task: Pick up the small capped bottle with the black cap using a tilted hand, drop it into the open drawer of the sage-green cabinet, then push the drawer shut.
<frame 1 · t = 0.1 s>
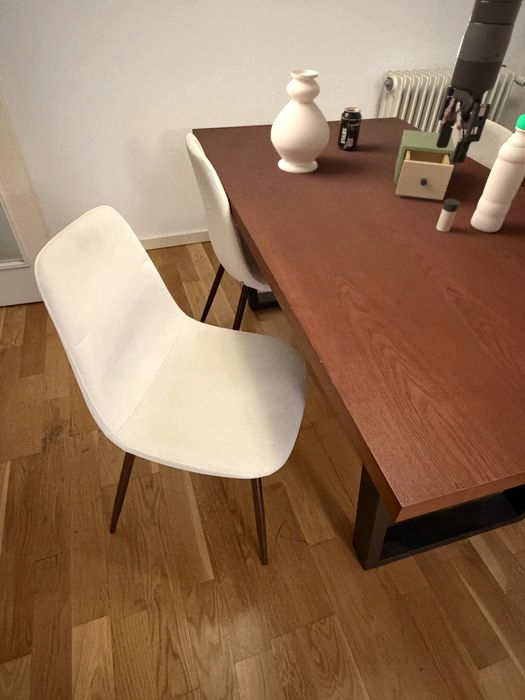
hand: (448, 154, 80), 20 cm above the table, tool pointing down, fingers open, 8 cm apart
smartphone: (434, 158, 135), on the table
small capped bottle: (442, 228, 100), on the table
beverage can: (346, 148, 141), on the table
water bottle: (484, 227, 101), on the table
decorative vase: (297, 166, 129), on the table
drawer: (423, 172, 112), point 5 cm above the table, slide at 8.0 cm
cabinet: (417, 177, 123), on the table
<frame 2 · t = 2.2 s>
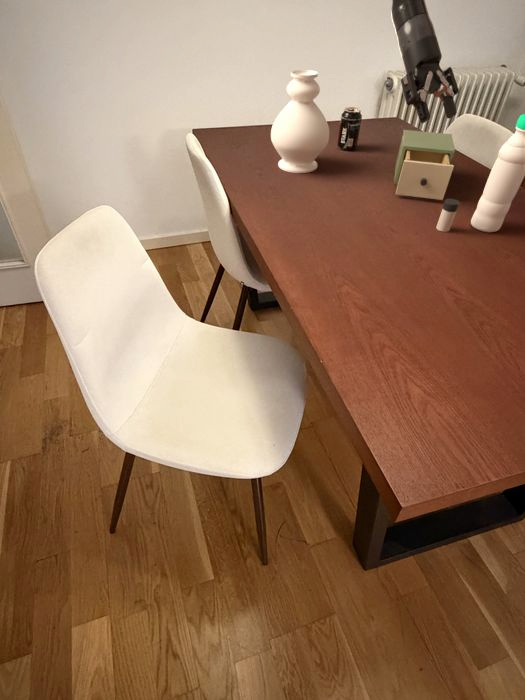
hand: (439, 118, 91), 22 cm above the table, tool tilted 45°, fingers open, 8 cm apart
nothing on the table moved.
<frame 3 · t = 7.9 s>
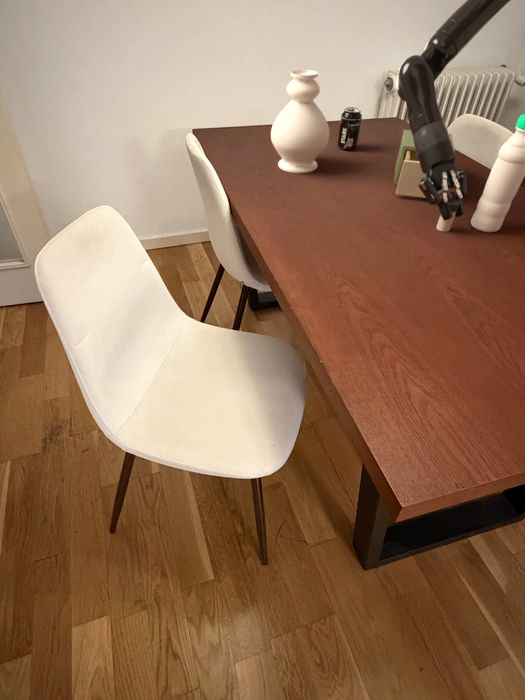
hand: (454, 217, 96), 4 cm above the table, tool tilted 45°, fingers closed on small capped bottle, 3 cm apart
small capped bottle: (442, 228, 100), on the table, touching gripper
everything else where it was.
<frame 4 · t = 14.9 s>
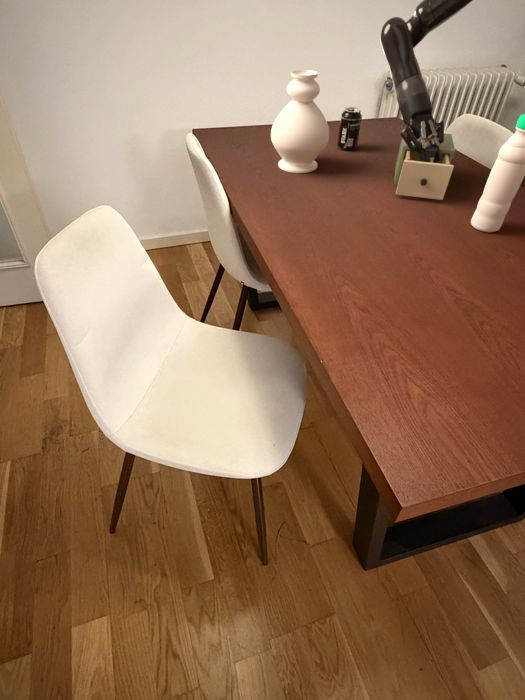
hand: (432, 162, 108), 9 cm above the table, tool tilted 45°, fingers closed on small capped bottle, 3 cm apart
small capped bottle: (422, 175, 112), point 5 cm above the table, touching gripper
everything else where it was.
when the fingers open (10 cm above the table, at t = 19.2 s): small capped bottle drops 4 cm, resting on drawer.
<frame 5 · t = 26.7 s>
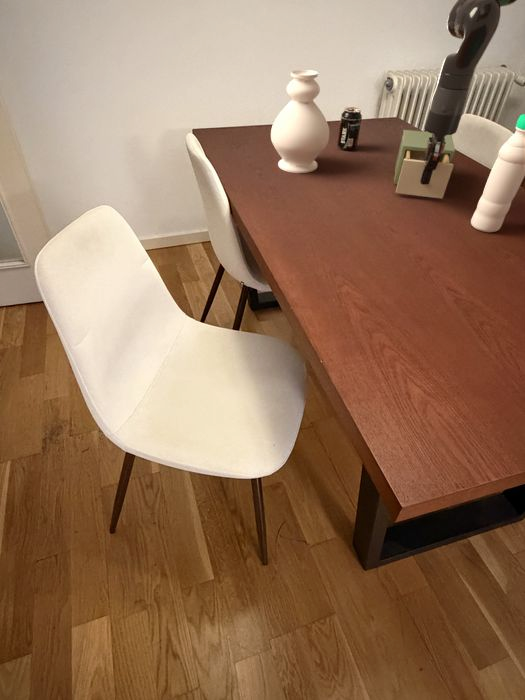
hand: (424, 182, 106), 6 cm above the table, tool pointing down, fingers closed
small capped bottle: (418, 184, 114), point 2 cm above the table, touching drawer
drawer: (423, 171, 113), point 5 cm above the table, slide at 7.1 cm, touching gripper, small capped bottle
everything else where it was.
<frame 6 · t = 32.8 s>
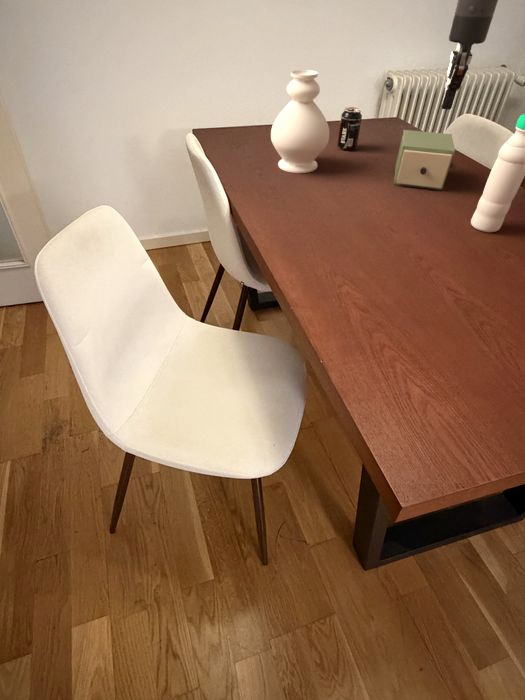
hand: (445, 108, 94), 23 cm above the table, tool pointing down, fingers closed
small capped bottle: (418, 174, 119), point 2 cm above the table, touching drawer
drawer: (422, 162, 117), point 5 cm above the table, slide at 0.0 cm, touching cabinet, small capped bottle
everything else where it was.
at the end: small capped bottle inside the target area in the cabinet (3.2 cm from its centre), point 2.1 cm above the cabinet's base; drawer slide at 0.0 cm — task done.
